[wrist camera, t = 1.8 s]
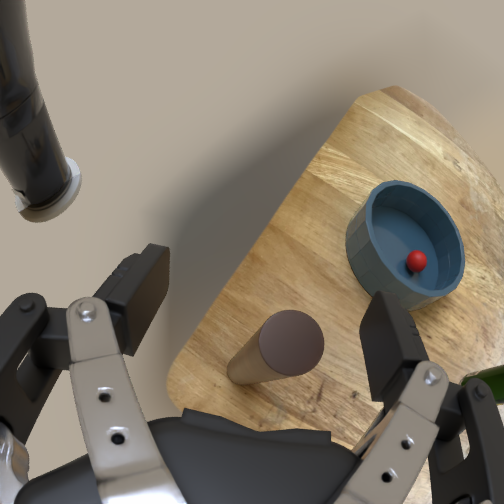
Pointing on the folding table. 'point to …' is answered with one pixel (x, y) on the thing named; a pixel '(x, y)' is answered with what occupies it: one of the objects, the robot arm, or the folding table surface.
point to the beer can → (490, 381)
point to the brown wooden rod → (279, 349)
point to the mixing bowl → (405, 244)
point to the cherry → (416, 261)
